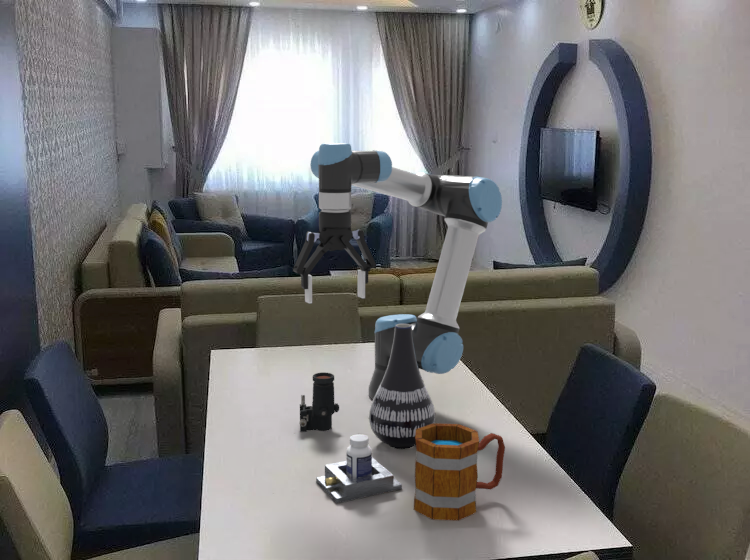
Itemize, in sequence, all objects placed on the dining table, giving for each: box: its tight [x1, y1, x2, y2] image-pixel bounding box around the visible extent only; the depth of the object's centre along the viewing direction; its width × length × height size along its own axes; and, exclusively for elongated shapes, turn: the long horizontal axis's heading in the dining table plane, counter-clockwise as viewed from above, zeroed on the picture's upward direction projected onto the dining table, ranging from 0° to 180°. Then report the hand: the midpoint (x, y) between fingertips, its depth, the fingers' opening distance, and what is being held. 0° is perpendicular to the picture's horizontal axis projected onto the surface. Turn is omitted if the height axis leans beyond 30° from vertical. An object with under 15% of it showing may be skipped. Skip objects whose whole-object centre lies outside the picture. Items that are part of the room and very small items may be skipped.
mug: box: [413, 422, 506, 522], centre depth 161 cm, size 20×14×15 cm
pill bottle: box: [345, 433, 373, 479], centre depth 169 cm, size 5×5×10 cm
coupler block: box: [315, 457, 403, 504], centre depth 169 cm, size 15×11×4 cm
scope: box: [299, 372, 340, 433], centre depth 200 cm, size 8×14×10 cm
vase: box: [368, 324, 436, 450], centre depth 189 cm, size 16×16×30 cm
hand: (335, 300), depth 189 cm, fingers open, 13 cm apart
